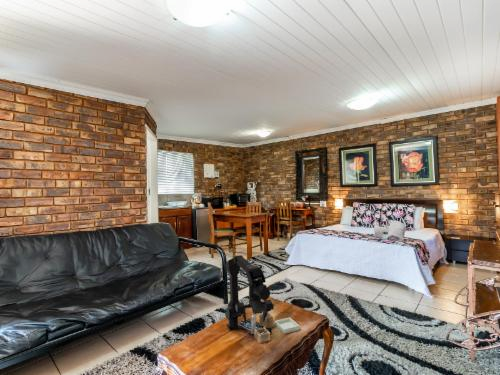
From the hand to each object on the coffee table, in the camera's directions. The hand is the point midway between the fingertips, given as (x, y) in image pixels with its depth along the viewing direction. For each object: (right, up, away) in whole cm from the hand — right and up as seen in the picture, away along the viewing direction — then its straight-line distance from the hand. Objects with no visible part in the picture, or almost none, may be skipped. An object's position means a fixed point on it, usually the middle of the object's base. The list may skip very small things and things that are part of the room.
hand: (254, 322), depth 138 cm
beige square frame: (+4, -14, +10) cm, 17 cm away
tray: (+19, -13, +21) cm, 31 cm away
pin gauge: (0, -14, +15) cm, 21 cm away
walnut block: (+7, -13, +23) cm, 28 cm away
